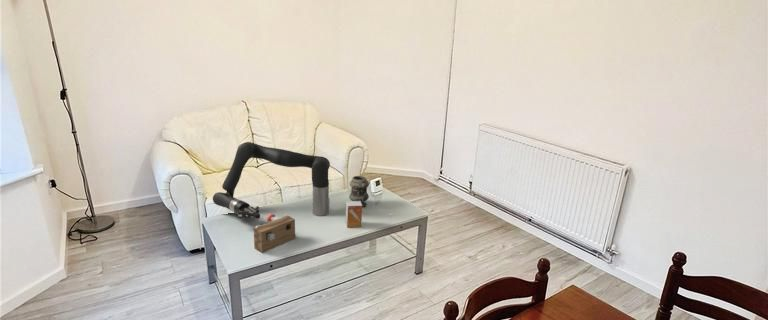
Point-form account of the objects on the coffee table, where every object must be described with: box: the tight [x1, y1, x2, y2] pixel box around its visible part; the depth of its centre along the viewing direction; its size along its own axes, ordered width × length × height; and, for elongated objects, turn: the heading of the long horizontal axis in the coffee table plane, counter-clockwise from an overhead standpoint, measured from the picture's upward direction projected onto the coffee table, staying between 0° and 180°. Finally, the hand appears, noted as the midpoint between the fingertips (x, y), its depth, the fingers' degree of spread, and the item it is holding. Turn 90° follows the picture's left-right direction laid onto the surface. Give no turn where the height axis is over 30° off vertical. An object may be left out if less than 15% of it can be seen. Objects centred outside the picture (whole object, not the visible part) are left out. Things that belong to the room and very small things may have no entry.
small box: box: [345, 200, 363, 228], centre depth 230 cm, size 8×6×13 cm
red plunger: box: [266, 213, 287, 227], centre depth 214 cm, size 12×4×4 cm, turn 51°
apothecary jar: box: [348, 175, 370, 209], centre depth 256 cm, size 12×12×18 cm
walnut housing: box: [253, 215, 296, 254], centre depth 207 cm, size 6×20×11 cm, turn 141°
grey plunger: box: [253, 224, 275, 241], centre depth 201 cm, size 12×4×4 cm, turn 51°
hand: (258, 216), depth 218 cm, fingers closed
